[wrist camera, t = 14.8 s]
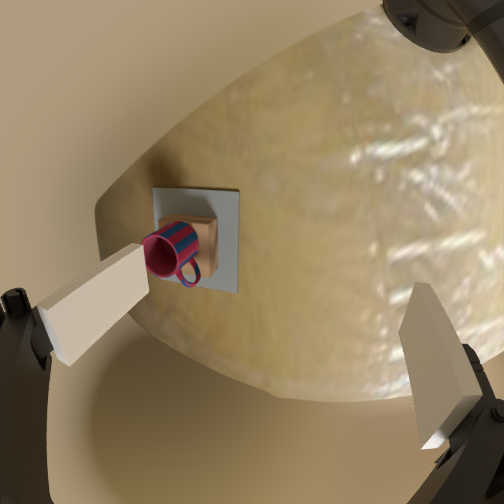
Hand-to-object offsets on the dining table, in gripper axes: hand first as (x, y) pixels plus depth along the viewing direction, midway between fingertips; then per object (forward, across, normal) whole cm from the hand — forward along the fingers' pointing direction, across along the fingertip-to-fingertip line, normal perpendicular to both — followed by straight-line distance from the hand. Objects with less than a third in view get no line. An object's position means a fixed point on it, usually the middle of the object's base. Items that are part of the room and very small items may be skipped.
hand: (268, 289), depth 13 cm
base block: (+31, -19, -11) cm, 38 cm away
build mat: (+32, -19, -11) cm, 39 cm away
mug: (+28, -18, -11) cm, 35 cm away
